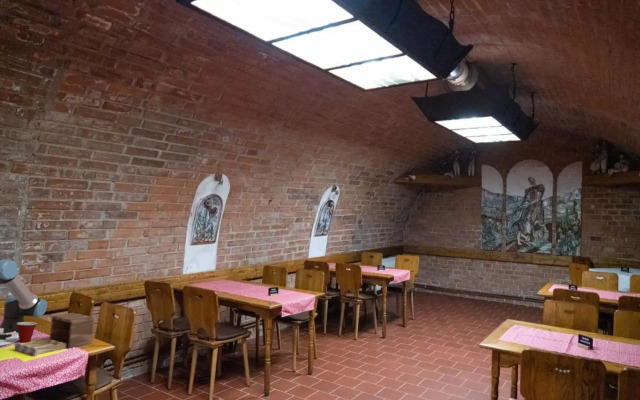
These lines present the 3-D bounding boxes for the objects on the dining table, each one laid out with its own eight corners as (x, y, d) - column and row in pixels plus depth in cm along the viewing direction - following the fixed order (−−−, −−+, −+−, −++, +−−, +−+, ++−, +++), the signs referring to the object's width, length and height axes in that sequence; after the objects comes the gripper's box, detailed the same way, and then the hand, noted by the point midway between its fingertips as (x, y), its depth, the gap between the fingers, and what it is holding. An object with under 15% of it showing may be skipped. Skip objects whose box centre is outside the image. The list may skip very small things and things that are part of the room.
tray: (14, 350, 264) (15, 343, 264) (47, 343, 282) (47, 336, 282) (34, 356, 255) (35, 349, 256) (67, 349, 273) (68, 342, 273)
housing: (49, 343, 283) (52, 315, 284) (71, 339, 296) (73, 312, 297) (69, 349, 274) (72, 320, 275) (91, 344, 287) (93, 317, 288)
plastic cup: (39, 340, 287) (41, 321, 288) (26, 345, 276) (28, 325, 277) (23, 339, 288) (25, 320, 289) (10, 343, 278) (12, 323, 278)
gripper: (-43, 341, 260) (-3, 335, 279) (-19, 349, 249) (21, 342, 268) (-42, 328, 261) (-2, 322, 280) (-17, 335, 250) (22, 329, 269)
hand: (9, 332), depth 274 cm, fingers open, 13 cm apart
